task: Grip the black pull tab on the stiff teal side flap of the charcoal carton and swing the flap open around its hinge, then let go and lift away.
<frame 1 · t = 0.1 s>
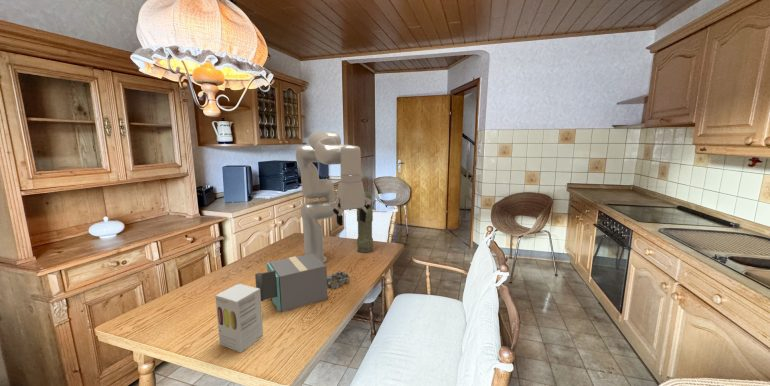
hand: (351, 223, 121), 31 cm above the table, tool pointing down, fingers open, 9 cm apart
carton: (299, 296, 128), on the table
egg carton: (337, 283, 140), on the table
supplement box: (242, 341, 101), on the table
thermos: (365, 250, 180), on the table
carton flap: (264, 285, 120), point 8 cm above the table, hinge at 0.0°
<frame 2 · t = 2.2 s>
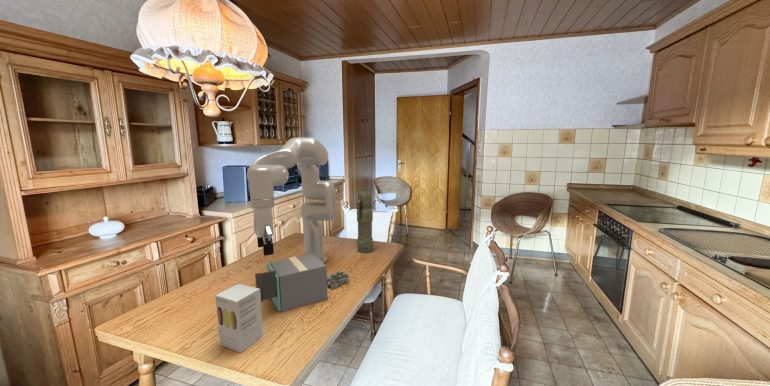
hand: (265, 250, 111), 24 cm above the table, tool pointing down, fingers open, 9 cm apart
nothing on the table moved.
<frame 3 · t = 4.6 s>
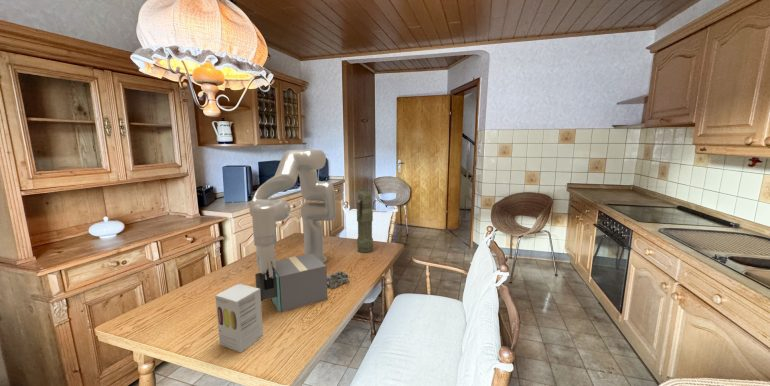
hand: (268, 287, 114), 10 cm above the table, tool pointing down, fingers closed
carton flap: (264, 285, 120), point 8 cm above the table, hinge at 0.0°, touching gripper
everything else where it was.
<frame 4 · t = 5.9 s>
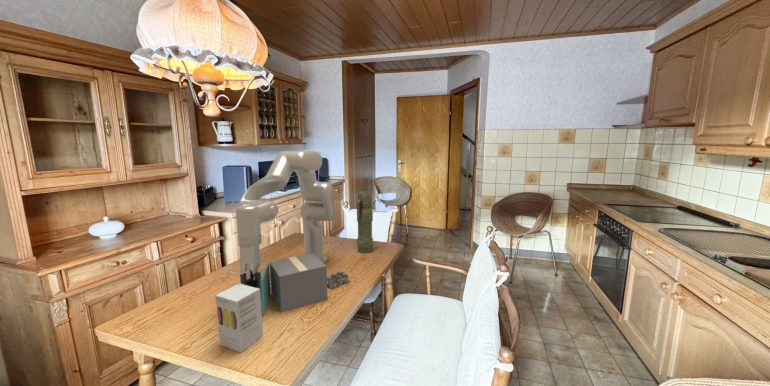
hand: (253, 288, 113), 10 cm above the table, tool pointing down, fingers closed
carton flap: (256, 285, 120), point 8 cm above the table, hinge at 19.7°, touching gripper
everything else where it was.
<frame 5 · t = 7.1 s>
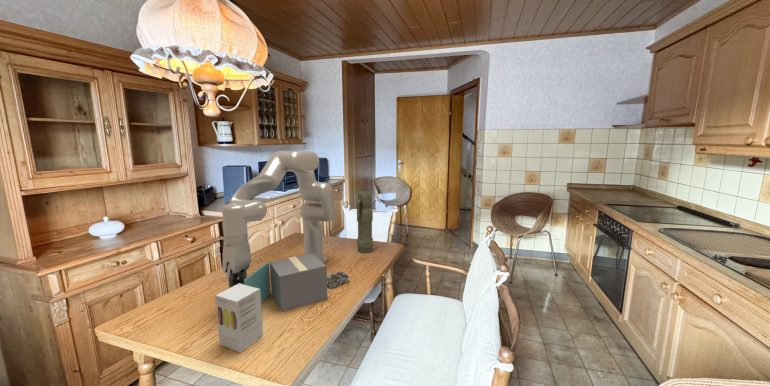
hand: (240, 287, 114), 10 cm above the table, tool pointing down, fingers closed
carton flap: (249, 284, 121), point 8 cm above the table, hinge at 40.4°, touching gripper
everything else where it was.
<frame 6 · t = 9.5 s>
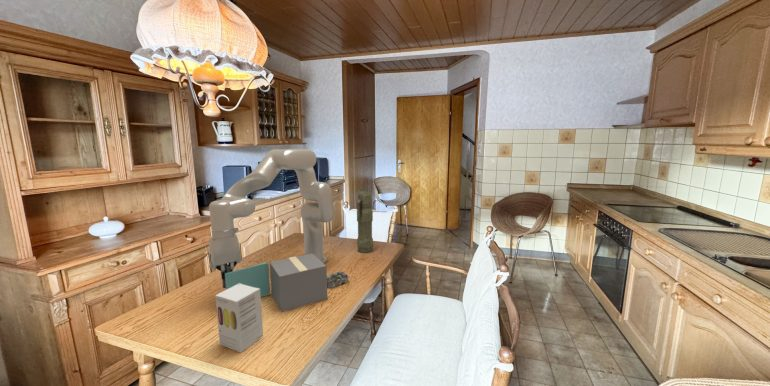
hand: (227, 279, 121), 10 cm above the table, tool pointing down, fingers closed
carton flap: (245, 278, 125), point 8 cm above the table, hinge at 80.0°, touching gripper
everything else where it was.
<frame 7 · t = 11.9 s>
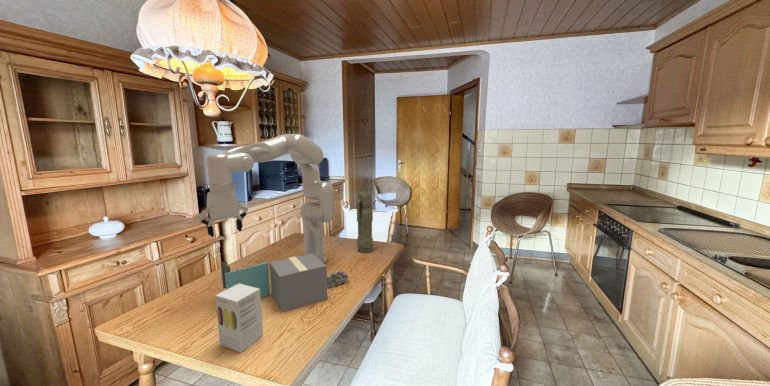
hand: (225, 233, 118), 28 cm above the table, tool pointing down, fingers open, 9 cm apart
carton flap: (245, 278, 125), point 8 cm above the table, hinge at 79.9°
everything else where it was.
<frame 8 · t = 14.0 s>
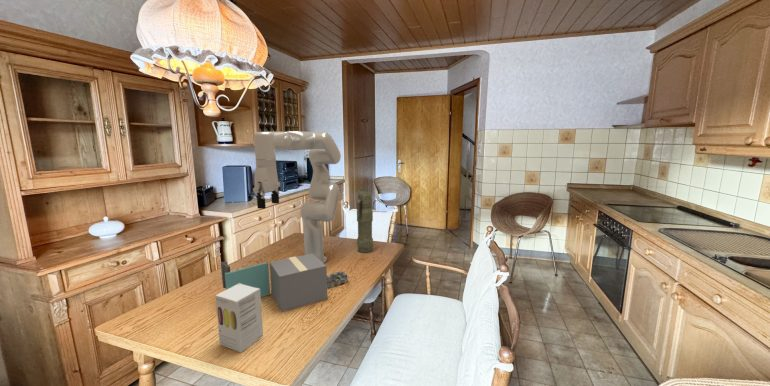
hand: (268, 205, 128), 36 cm above the table, tool pointing down, fingers open, 9 cm apart
at the end: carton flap at +80° (first picture: +0°); the gripper is holding nothing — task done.
